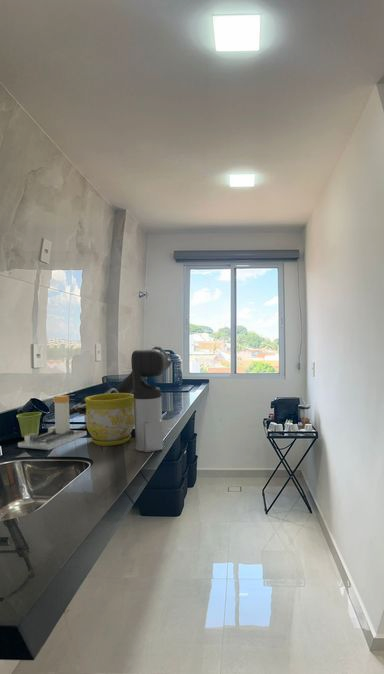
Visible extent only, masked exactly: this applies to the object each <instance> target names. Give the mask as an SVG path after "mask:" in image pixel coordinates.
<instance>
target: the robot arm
mask: <svg viewBox="0 0 384 674" xmlns="http://www.w3.org/2000/svg"><path fill="white" fill-rule="evenodd" d="M130 360H131V372H130V373H129V374H128V375H127V377H125V378H124V379H123V380H122V381H121V382H120V383H119V384H118V385H117V388H114V387H111V388H109V389H108V390H106V391H105V392H104V393H103V394H108V393H129V394H134V399H133V402H134V417H135V424H134V438H135V450H136V451H138V452H144V453H150V452H156V451H162V450H163V449H164V440H163V439H164V436H163V432H164V431H163V412H162V406H163V405H162V390H161V388H160V387H158V386H156V385H155V386H154V385H152V384H149V383H148V382H146V381H145V380H144V379H143V378H152V377H154V378H155V377H160V376H162V374H163V373H164V372H165V371H166V370H168V369H169V367H171V364H172V358H171V357H170V356H169V354H168V353H167V352H166V351H165V350H164V349H163V348H162V347H161V346H160V345H156V346H154V347H153V348H151V349H136V350H134V351H132V354H131V359H130ZM77 414H78V415H82V414H83V415H84V416H86V402H85V398H83V399H82V400H81V401H80V403H79V402H78V403H77V404H75V405H70V404H69V416H73V415H77Z"/></svg>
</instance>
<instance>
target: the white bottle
mask: <svg viewBox="0 0 384 674" xmlns="http://www.w3.org/2000/svg"><path fill="white" fill-rule="evenodd" d="M53 404H54V421H55V422H54V423H55V424H54V426H55V428H56V433H58V434H62V433H65V432H68V431H70V430H71V423H70V419H71V418H70V415H69V405H70V395H62V394H61V395H60V394H58V395H55V396H53Z"/></svg>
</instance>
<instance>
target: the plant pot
mask: <svg viewBox="0 0 384 674" xmlns="http://www.w3.org/2000/svg"><path fill="white" fill-rule="evenodd" d="M42 413H43V412H40V411H32V412H22V413H19V414H17V415H16V418H17V420H18V423H19V429H20V434H21V437H22V438H24V439H25V435H28V434H31V433H37V436H39V433H40V432H39V430H40V421H41V420H40V419H41V415H42Z"/></svg>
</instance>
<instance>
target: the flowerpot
mask: <svg viewBox="0 0 384 674" xmlns="http://www.w3.org/2000/svg"><path fill="white" fill-rule="evenodd" d="M84 399H85V402H86V415H85V426H86V429H87V432H88V433H89V434H90V436H91V441H92V442H93V444H94V445H97V446H103V447H108V446H117V445H122V444H125V443H127V442H128V441H129V440H130V438H131V437H132V434H131V433H132V432H133V429H134V428H135V417H134V393H131V394H129V393H108V394H104V393H100V394H94V395H90V396H89V395H88V396H86V397H85V398H84Z"/></svg>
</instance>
